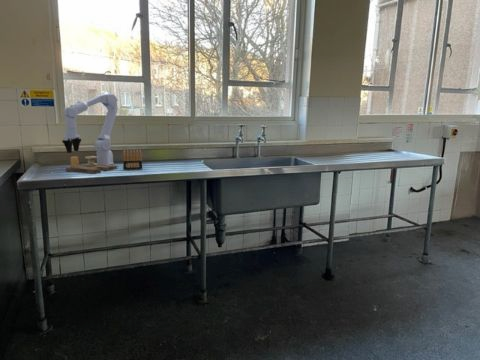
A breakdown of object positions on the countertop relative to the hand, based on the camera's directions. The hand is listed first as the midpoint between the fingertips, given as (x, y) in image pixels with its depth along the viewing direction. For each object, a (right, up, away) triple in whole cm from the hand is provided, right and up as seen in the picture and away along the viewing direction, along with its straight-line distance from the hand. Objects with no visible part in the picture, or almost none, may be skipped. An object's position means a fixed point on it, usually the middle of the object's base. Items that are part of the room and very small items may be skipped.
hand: (72, 151), depth 208 cm
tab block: (-1, -9, +5) cm, 10 cm away
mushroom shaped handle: (+11, -8, 0) cm, 13 cm away
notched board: (+13, -11, -3) cm, 17 cm away
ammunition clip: (+35, -10, +2) cm, 36 cm away
